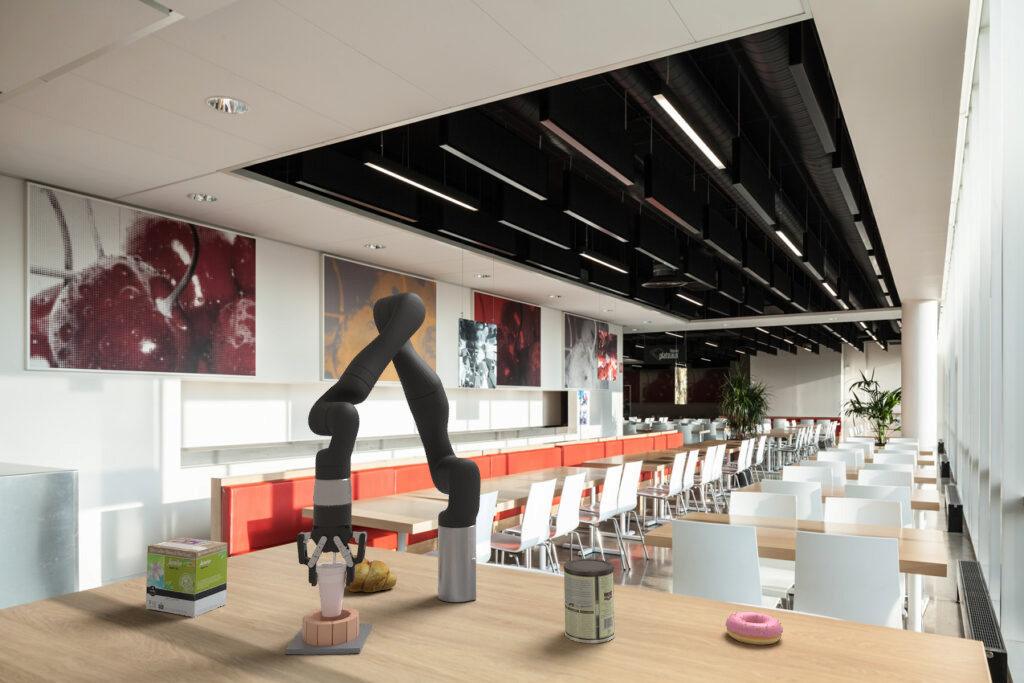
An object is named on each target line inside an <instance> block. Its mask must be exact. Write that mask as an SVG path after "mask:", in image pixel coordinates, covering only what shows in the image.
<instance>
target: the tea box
mask: <svg viewBox="0 0 1024 683" xmlns="http://www.w3.org/2000/svg"><path fill="white" fill-rule="evenodd" d="M228 544H229V543H228V542H224V541H223V542H222V541H217V540H208V539H200V538H199V539H197V538H191V537H184V536H183V537H182V536H180V537H176V538H173V539H170V540H167V541H162V542H159V543H155V544H150V545H147V555H146V560H147V562H146V564H147V565H146V587H145V588H146V593H145V595H146V596H145V608H146V610H153V611H158V612H159V611H160V612H164V613H169V614H175V615H179V614H180V615H179V616H184V615H185V616H184V617H188V616H191V617H190V618H193V617H194V618H196V617H195V616H197V615H199V616H201V615H200V614H202V613H204V614H206V613H205V612H207V611H209V610H212V609H214V608H217V607H219V608H221V607H220V606H222V605H224V606H226V605H227V587H228V586H227V585H228V584H227V582H228ZM225 604H226V605H225ZM222 607H223V606H222ZM217 609H218V608H217ZM212 611H213V610H212ZM209 612H210V611H209ZM207 613H208V612H207ZM202 615H203V614H202ZM197 617H198V616H197Z"/></svg>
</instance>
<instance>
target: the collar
mask: <svg viewBox="0 0 1024 683" xmlns="http://www.w3.org/2000/svg"><path fill="white" fill-rule="evenodd" d="M301 620H302V622H301V623H302V627H301V628H300V630H299V631H298V632H297V634H296V635H295V636H294V638H292V640H291V641H290V643H289V644H288V646H287V647H286V648H285V654H304V655H305V656H306V655H348V654H349V655H352V654H353V653H360V654H361V652H362V651H363V648H364V646H365V644H366V642H365V641H367V640H368V638H367V637H369V635H370V633H371V631H372V629H373V622H372V623H371V622H370V623H360V612H359V611H358V610H357V609H356V608H354V607H353V608H352V607H349V606H348V607H346V606H342V609H341V614H340V615H338V616H335V617H324V616H322V611H321V608H317V609H314V610H310V611H309V612H306V613H305V614H304V616H303V617H302V618H301ZM371 628H372V629H371ZM366 639H367V640H366ZM364 643H365V644H364ZM363 645H364V646H363ZM350 653H351V654H350ZM304 655H303V656H304ZM353 655H354V654H353Z"/></svg>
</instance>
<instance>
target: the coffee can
mask: <svg viewBox="0 0 1024 683" xmlns="http://www.w3.org/2000/svg"><path fill="white" fill-rule="evenodd" d="M562 565H563V567H562V568H563V572H564V573H563V575H564V576H563V578H564V579H563V581H564V582H563V583H564V584H563V585H564V587H563V588H564V592H563V593H564V636H565V635H566V636H565V637H566V638H567V637H568V638H570V639H571V641H572V640H574V641H573V642H576V641H577V642H576V643H580V642H584V643H583V644H600V643H599V642H604V643H606V642H605V641H607V642H609V640H610V641H612V640H613V639H615V636H616V633H615V593H614V592H615V588H614V586H615V584H614V583H615V582H614V569H615V565H614V563H612V562H610V561H609V560H604V559H597V558H578V559H577V558H576V559H570V560H567V561H565V562H564V563H563V564H562ZM568 638H567V639H568ZM570 639H569V640H570ZM611 639H612V640H611Z"/></svg>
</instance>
